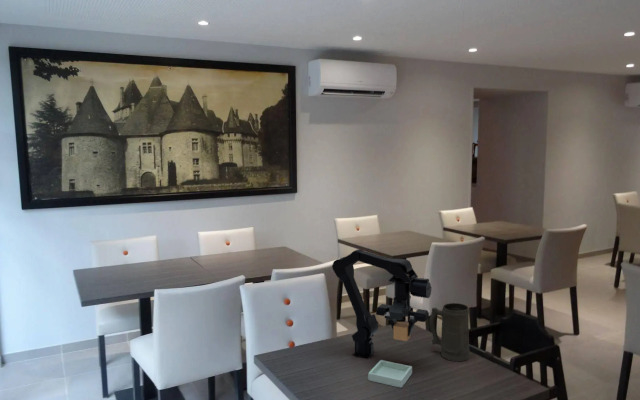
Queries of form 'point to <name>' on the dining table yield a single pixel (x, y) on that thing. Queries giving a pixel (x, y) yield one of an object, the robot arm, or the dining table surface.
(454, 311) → the beer stein
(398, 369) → the sage tray
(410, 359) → the dining table surface
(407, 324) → the orange cube
